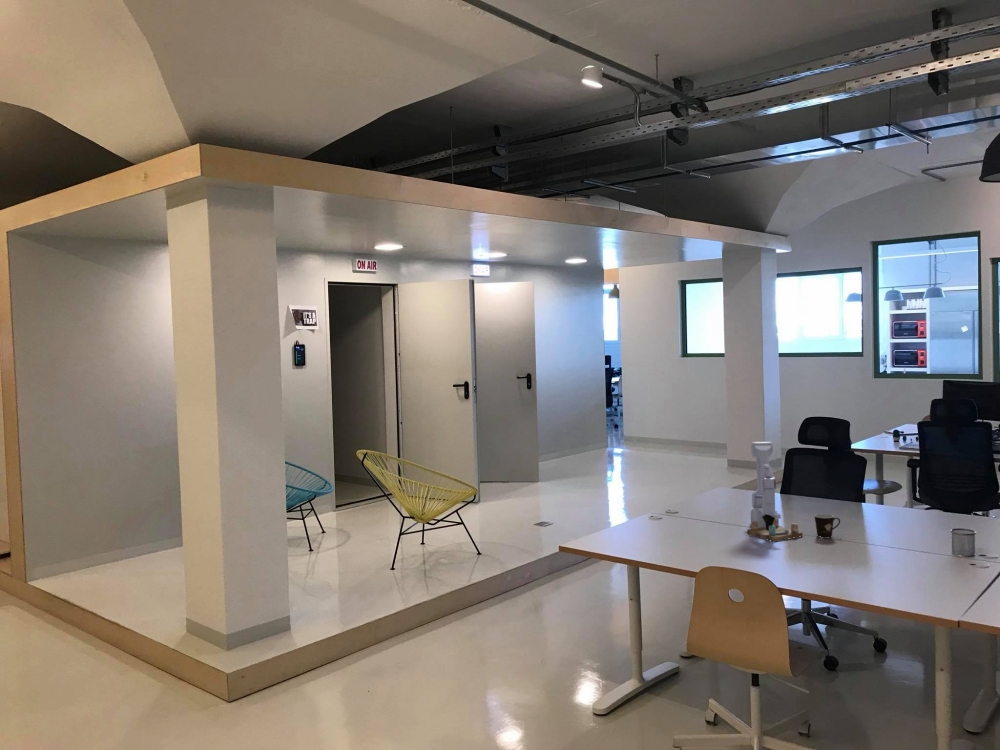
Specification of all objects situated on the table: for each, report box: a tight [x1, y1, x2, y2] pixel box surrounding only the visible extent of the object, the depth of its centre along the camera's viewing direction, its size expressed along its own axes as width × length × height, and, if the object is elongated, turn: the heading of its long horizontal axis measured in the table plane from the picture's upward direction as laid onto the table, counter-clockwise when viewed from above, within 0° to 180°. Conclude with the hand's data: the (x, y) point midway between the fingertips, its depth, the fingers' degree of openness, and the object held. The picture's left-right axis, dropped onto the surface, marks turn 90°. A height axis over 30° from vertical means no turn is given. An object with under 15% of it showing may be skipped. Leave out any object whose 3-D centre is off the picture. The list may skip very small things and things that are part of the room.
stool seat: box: [746, 518, 803, 542], centre depth 374 cm, size 18×18×6 cm
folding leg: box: [769, 525, 789, 535], centre depth 368 cm, size 10×3×4 cm, turn 105°
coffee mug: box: [814, 513, 841, 538], centre depth 368 cm, size 12×9×10 cm
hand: (769, 530), depth 369 cm, fingers closed, pressing on folding leg
